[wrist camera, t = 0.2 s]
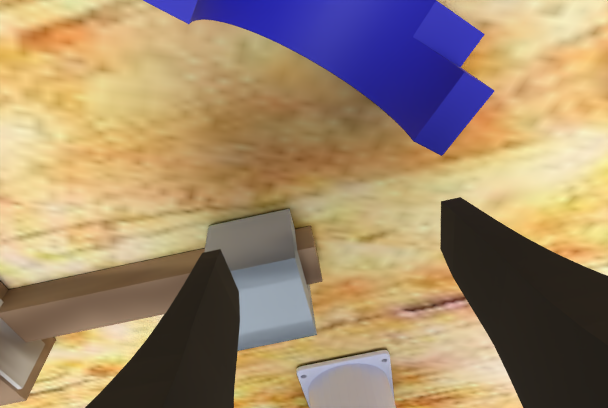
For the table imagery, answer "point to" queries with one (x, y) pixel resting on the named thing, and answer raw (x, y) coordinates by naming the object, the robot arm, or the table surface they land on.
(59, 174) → the table surface
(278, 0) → the cable clip
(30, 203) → the table surface
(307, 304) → the slider
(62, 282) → the brown piece
